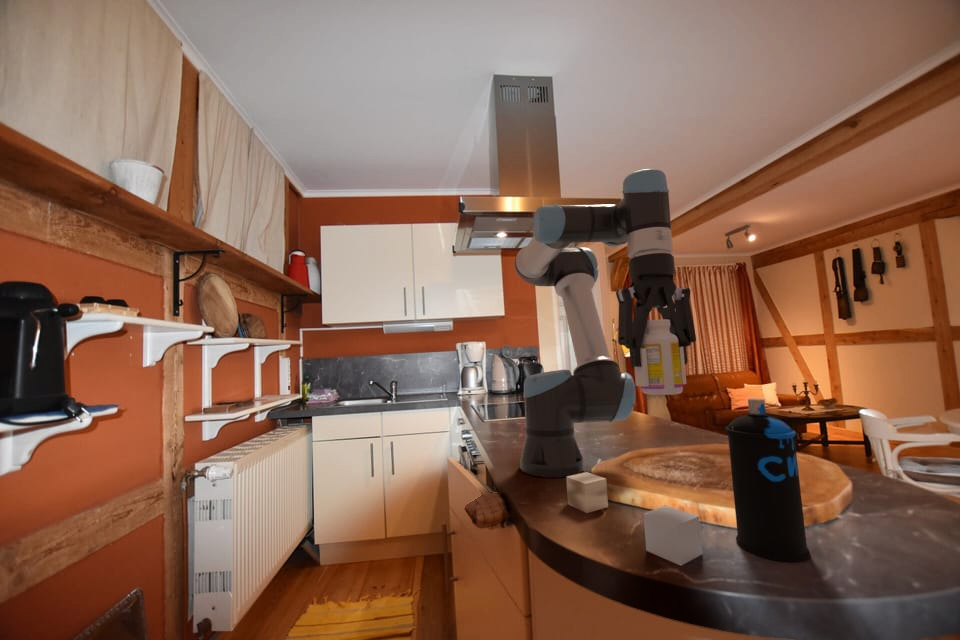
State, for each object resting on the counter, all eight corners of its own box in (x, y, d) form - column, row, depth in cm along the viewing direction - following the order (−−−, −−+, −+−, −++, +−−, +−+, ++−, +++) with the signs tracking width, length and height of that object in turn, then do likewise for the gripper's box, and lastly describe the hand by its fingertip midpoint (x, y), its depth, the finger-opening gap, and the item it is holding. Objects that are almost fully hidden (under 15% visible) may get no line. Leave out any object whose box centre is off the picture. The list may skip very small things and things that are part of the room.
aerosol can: (722, 540, 57) (709, 399, 59) (761, 529, 60) (747, 395, 62) (783, 568, 49) (766, 404, 51) (825, 554, 52) (807, 399, 54)
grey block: (646, 551, 55) (643, 513, 55) (668, 541, 58) (665, 505, 58) (680, 566, 51) (677, 525, 51) (702, 554, 53) (699, 516, 54)
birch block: (567, 504, 73) (566, 476, 73) (588, 499, 75) (586, 472, 76) (586, 513, 69) (584, 483, 69) (608, 507, 71) (606, 478, 71)
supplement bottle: (674, 391, 73) (668, 321, 74) (689, 394, 66) (682, 317, 67) (636, 392, 73) (631, 323, 74) (648, 396, 67) (642, 319, 68)
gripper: (612, 250, 66) (622, 389, 64) (712, 251, 70) (725, 383, 68) (590, 261, 73) (599, 386, 71) (682, 262, 78) (693, 380, 76)
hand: (660, 384), depth 70 cm, fingers closed on supplement bottle, 7 cm apart
